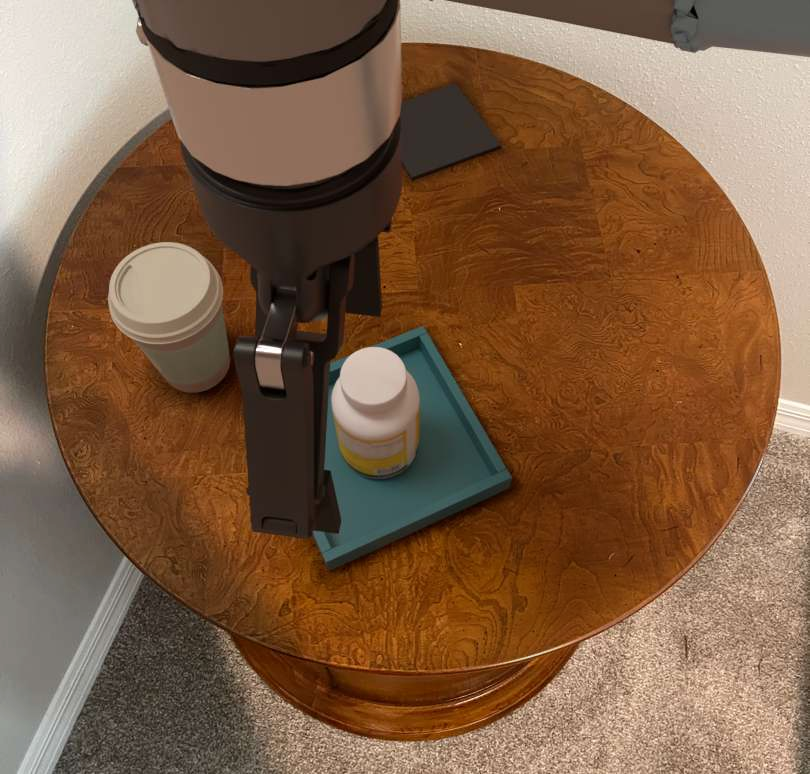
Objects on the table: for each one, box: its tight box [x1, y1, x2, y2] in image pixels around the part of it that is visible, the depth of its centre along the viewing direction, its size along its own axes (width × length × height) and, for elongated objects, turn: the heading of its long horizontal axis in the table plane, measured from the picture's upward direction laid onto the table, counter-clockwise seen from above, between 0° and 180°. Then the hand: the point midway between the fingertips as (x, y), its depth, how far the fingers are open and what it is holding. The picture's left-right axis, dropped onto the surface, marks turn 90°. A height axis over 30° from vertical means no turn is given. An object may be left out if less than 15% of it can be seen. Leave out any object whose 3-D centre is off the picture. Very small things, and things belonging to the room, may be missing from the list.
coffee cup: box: [107, 241, 231, 394], centre depth 66 cm, size 8×8×12 cm
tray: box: [312, 325, 512, 572], centre depth 66 cm, size 16×16×2 cm
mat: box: [400, 83, 501, 181], centre depth 85 cm, size 10×10×1 cm
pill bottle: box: [331, 346, 420, 479], centre depth 62 cm, size 6×6×12 cm
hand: (338, 409), depth 46 cm, fingers open, 13 cm apart
